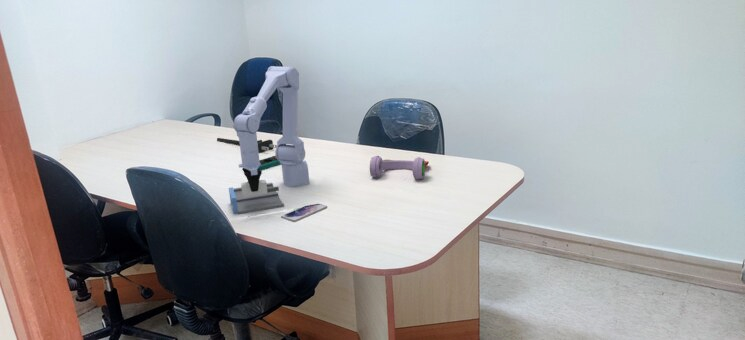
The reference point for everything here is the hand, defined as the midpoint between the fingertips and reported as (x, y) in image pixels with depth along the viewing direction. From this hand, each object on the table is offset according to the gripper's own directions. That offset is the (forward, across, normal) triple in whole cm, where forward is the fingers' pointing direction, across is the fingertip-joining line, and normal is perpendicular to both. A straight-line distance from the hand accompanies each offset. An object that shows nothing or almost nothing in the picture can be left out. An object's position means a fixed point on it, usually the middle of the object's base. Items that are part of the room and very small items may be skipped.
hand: (254, 189), depth 184 cm
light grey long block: (+2, 0, +2) cm, 3 cm away
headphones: (+6, -11, +58) cm, 59 cm away
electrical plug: (+7, -82, +6) cm, 82 cm away
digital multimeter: (+7, -45, +11) cm, 47 cm away
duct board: (+6, -6, +1) cm, 8 cm away
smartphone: (+7, +12, +14) cm, 20 cm away
